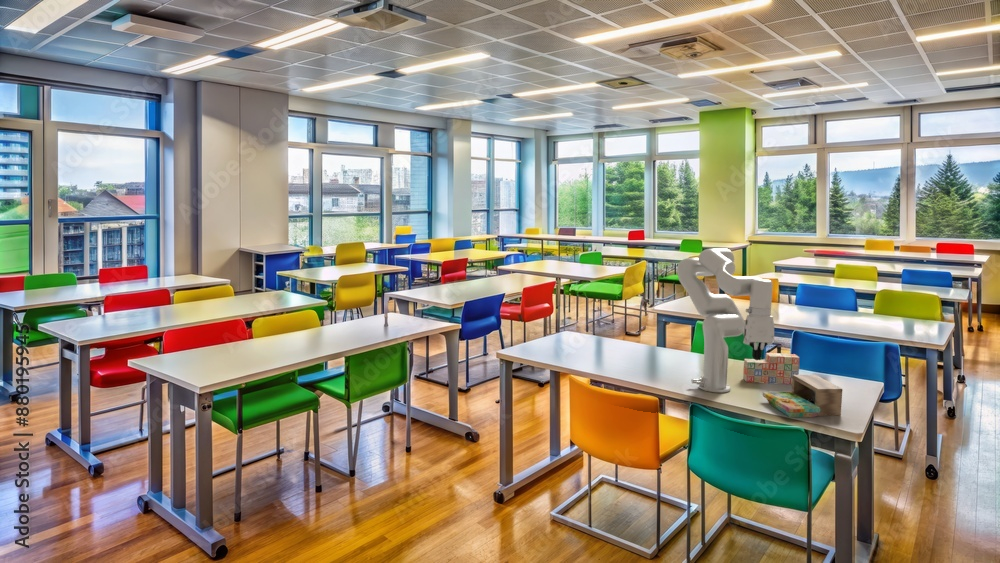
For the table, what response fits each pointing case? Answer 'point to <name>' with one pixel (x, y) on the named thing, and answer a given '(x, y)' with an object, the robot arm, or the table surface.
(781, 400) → the puzzle game
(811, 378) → the low shelf
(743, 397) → the table surface
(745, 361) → the stack of blocks
